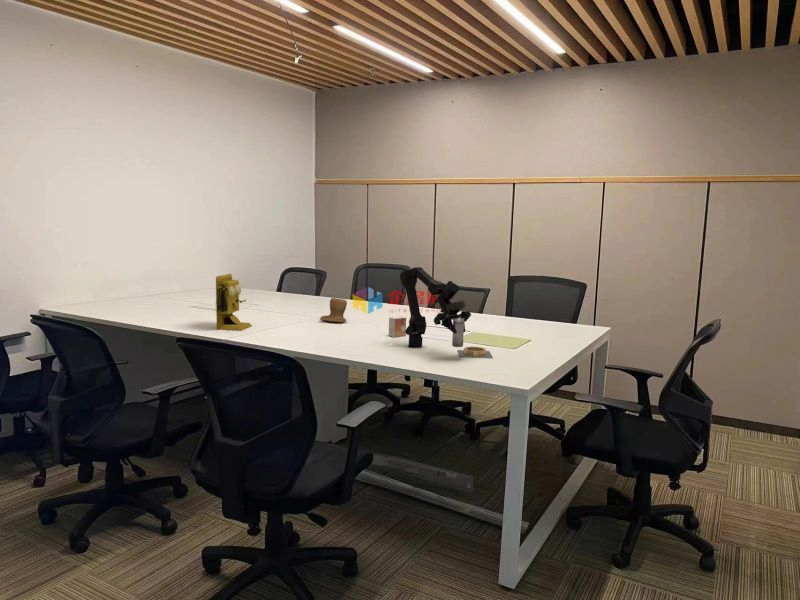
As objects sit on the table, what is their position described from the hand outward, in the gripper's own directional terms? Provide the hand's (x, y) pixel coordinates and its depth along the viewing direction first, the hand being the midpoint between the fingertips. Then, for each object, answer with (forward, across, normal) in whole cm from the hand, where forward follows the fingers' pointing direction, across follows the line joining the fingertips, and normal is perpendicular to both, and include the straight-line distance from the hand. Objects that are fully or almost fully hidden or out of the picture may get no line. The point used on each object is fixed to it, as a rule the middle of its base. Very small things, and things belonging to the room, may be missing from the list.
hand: (460, 332), depth 273 cm
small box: (-33, +7, +53) cm, 63 cm away
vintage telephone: (-76, -64, +96) cm, 138 cm away
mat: (+6, +14, +13) cm, 20 cm away
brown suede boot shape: (-71, -3, +92) cm, 116 cm away
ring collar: (+6, +14, +13) cm, 20 cm away
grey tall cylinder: (+4, 0, +6) cm, 7 cm away
